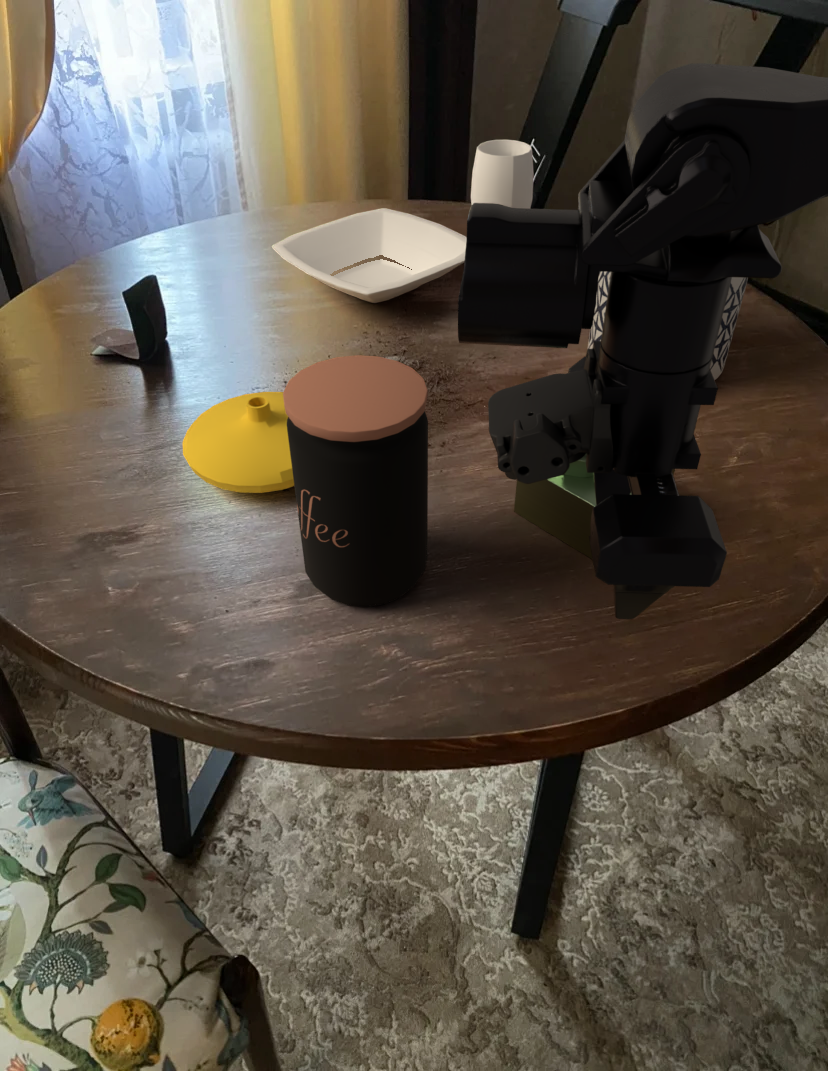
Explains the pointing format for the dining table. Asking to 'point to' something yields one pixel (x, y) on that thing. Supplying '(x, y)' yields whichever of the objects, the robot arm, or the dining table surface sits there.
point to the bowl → (375, 253)
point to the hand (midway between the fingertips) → (614, 564)
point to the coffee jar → (360, 476)
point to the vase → (242, 444)
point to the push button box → (561, 505)
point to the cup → (503, 174)
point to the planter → (725, 328)
